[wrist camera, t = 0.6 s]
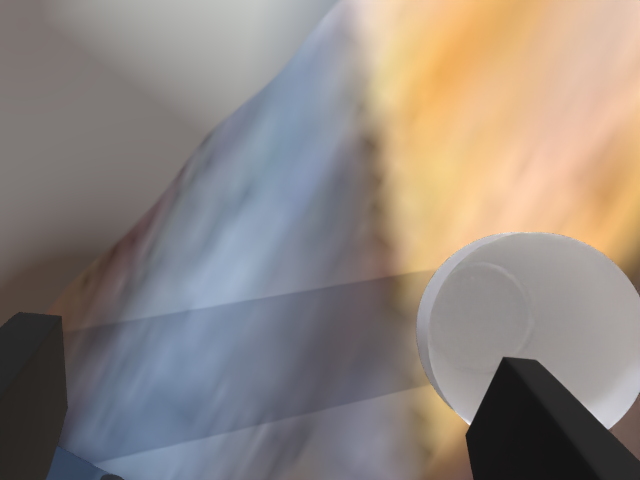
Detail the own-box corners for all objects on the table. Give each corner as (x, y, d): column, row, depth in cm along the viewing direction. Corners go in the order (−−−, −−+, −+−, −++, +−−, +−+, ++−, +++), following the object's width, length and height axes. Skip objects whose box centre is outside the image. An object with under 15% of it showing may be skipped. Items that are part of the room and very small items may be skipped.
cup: (494, 423, 35) (564, 503, 23) (372, 330, 35) (378, 361, 23) (585, 301, 35) (703, 318, 23) (461, 212, 35) (511, 182, 23)
